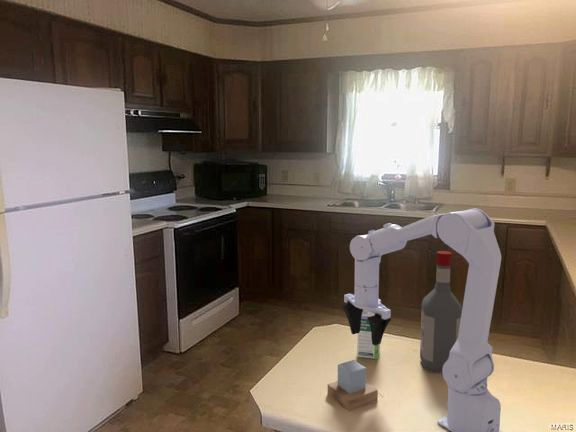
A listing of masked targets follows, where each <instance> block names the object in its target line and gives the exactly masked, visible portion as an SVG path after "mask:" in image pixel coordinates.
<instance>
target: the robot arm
mask: <svg viewBox="0 0 576 432" xmlns="http://www.w3.org/2000/svg"><path fill="white" fill-rule="evenodd" d="M495 225H496V224H495V222H494V221H493V220H492V219H491V218H490V216H489V215H488V214H487V213H486V212H485V211H483V210H482V209H480V208H476V207H475V208H469V209H466V210H459V211H451V212H447V213H445V212H444V213H439V214H434V215H430V216H427V217H425V218H422V219H419V220H417V221H415V222H412V223H409V224H407V225H405V226H401V225H398V224H396V223H395V224H394V223H393V224H392V223H391V222H389V223H385V224H383V228H380V229H377V230H375V229H371V230H369V231H368V233H367V234H363V235H359V234H358V235H355V237H353V238H352V239H351V241H350V242H349V251H350V252H349V253H350V254H351V255H352V257H353V258H354V293H347V294H344V296H343V297H344V299H343V301H344V303H346V305H345V304H344V305H342V310H343V312H344V313H345V316H346V318H347V321H348V324H349V329H350V332H351V335H356V334H357V335H358V333H360V327H361V317H362V312H363V309H364V310H367V311H369V312H371V313H374V314H375V316H371V317H368V321H369V324H370V327H371V338H372V344H373V345H378V344H380V345H381V344H382V339H383V337H384V333H385V330H386V329H387V327H388V325H389V323H390V321H392V315H391V313H392V311H391V309H389V308H387V307H386V306H385V305H384V304H382V300H381V299H380V298H379V293H380V292H379V291H380V284H379V283H380V263H381V261H382V260H381V259H382V256H383V255H386V254H390V253H392V252H397V251H400V250H402V249H404V248H405V247H406V245H407V242H408V241H412V240H415V239H419V238H422V237H425V236H429V235H431V236H433V237H434V238H435V239H438V238H439V239H440V240H441V241H442V242H443V243H444V244H445V245H446V246H448V247H449V248H451V249H452V250H453V251H455V252H456V253H458V254H459V255H461V256H462V257H463V258H464V259H465V260H466V262H467V263H468V269H467V277H466V281H465V282H466V283H465V289H464V296H463V302H462V314H461V321H460V327H459V334H458V339H457V341H456V342H455V344H454V346H453V347H452V349H451V350H450V353H449V358H448V360H447V361H446V362H445V363H444V365H443V369H442V373H441V374H442V376H443V379H444V382H446V384H447V388H448V389H447V390H448V391H447V392H448V393H447V394H448V395H447V408H446V409H447V413H446V414H447V415H445V416H443V417H441V418H439V419H437V423H438V424H439V425H440V426H442V427H443V428H445V429H447V430H449V431H450V432H502V430H500V425H501V411H502V410H501V402H500V400H499V399H498V398H497V397H496V396H494V395H493V394H492V393H491V392H490V390H489V389H488V377H491V376H492V374H493V373H494V371H495V363H494V359H493V346H492V345H490V344H489V343H488V340H489V335H490V330H491V329H490V328H491V323H492V317H493V311H494V305H495V298H496V294H497V286H498V280H499V277H500V270H501V269H500V268H501V263H502V253H501V249H500V247H499V244H498V241H497V237H496V234H495Z"/></svg>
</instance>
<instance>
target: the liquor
mask: <svg viewBox="0 0 576 432" xmlns="http://www.w3.org/2000/svg"><path fill="white" fill-rule="evenodd" d="M435 265H436V276H435V277H436V278H435V285H434V288H433V289H432V290H431V291H430V292H429V293H428V294H427V295H425V296H424V297H423V298H422V301H421V313H420V314H421V316H420V344H419V346H420V348H419V358H420V361H421V363H422V366H423V368H424V370H427V371H429V372H431V373H440V374H443V373H442V369H443V365H444V363H445V362H446V361H447V360H448V358H449V353H450V350H451V349H452V347H453V346H454V344H455V342H456V341H457V339H458V334H459V327H460V321H461V314H462V308H463V305H462V304H461V303H460V301H459V300H458V298H457V297H456V296H455V295H454V294H453V292H452V291H451V290H452V288H451V266H452V252H451V251H446V250H438V251H436V261H435Z"/></svg>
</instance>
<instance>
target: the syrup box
mask: <svg viewBox="0 0 576 432" xmlns="http://www.w3.org/2000/svg"><path fill="white" fill-rule="evenodd" d="M371 316H375V314H374V313H371V312H369V311H367V310H364V309H363V312H362V317H361V327H360V333H357V348H356V349H357V351H356V356H357V358H364V359H365V358H366V359H372V360H373V359H374V360H378V359H379V355H380V352H381V351H380V350H381V344H378V345H373V344H372V338H371V327H370V324H369V321H368V317H371Z"/></svg>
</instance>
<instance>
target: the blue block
mask: <svg viewBox="0 0 576 432" xmlns="http://www.w3.org/2000/svg"><path fill="white" fill-rule="evenodd" d="M366 379H367V367H365V366H364V365H363V364H361V363H359V362H357V361H356V360H354V359H352V360H349V361H345V362H342V363H338V364H337V381H338V386H339V387H341V388H342V389H343V390H345V391H346V392H348V393H349V394H351V393H354V392H357V391H360V390H363V389H366V383H367V380H366Z"/></svg>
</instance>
